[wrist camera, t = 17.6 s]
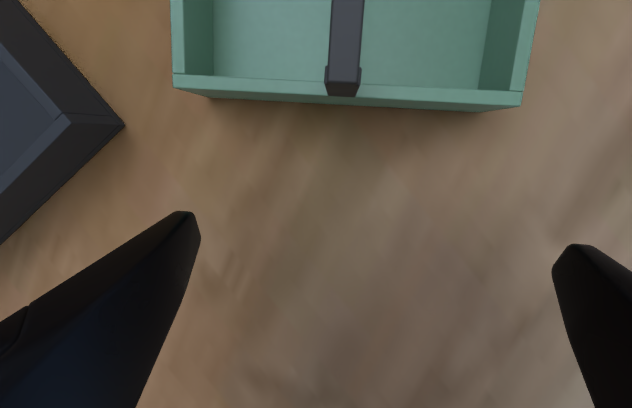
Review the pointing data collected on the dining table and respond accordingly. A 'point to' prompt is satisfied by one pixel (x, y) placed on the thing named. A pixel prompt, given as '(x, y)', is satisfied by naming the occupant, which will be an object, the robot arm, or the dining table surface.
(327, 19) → the sage basket
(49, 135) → the dark grey open box
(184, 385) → the dining table surface
